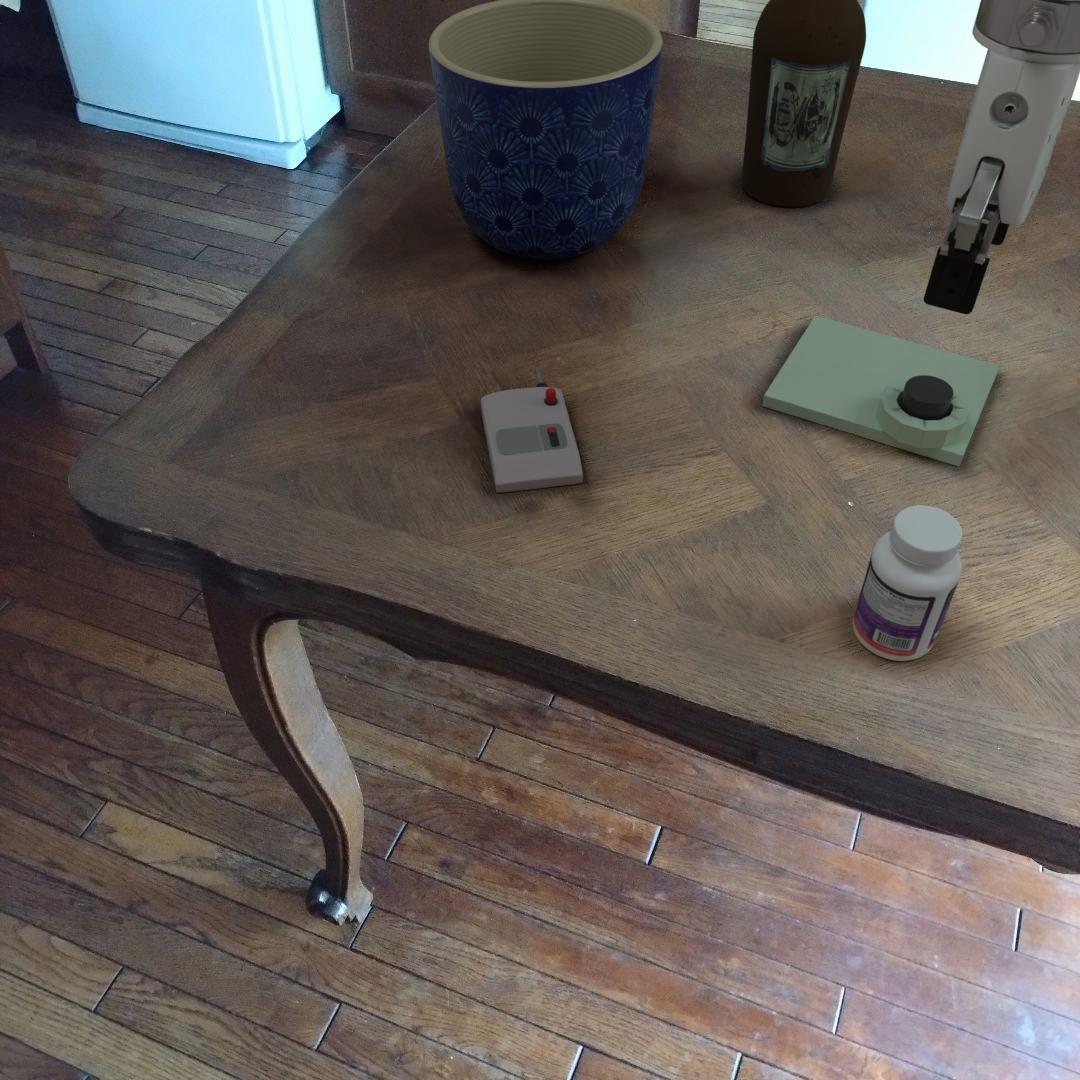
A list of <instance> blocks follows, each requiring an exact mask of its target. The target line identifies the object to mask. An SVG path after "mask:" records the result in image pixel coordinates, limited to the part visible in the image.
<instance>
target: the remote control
mask: <svg viewBox="0 0 1080 1080" xmlns="http://www.w3.org/2000/svg"><path fill="white" fill-rule="evenodd" d="M534 371H535V379H536V382H537V383H536V385H535V386H533V387H521V388H513V386H510V387H509V388H508V389H506V390H501V387H500V384H499V383H496V384H495V388H496V391H494V392H490V393H488V394H484V396H482V397H481V399H480V412H481V419H482V423H483V429H484V434H485V439H486V445H487V450H488V455H489V461H490V466H491V471H492V475H493V476H492V477H493V482H494V487H495V492H496V493H509V492H519V491H527V490H528V491H529V490H536V489H545V488H553V487H562V486H570V485H578V484H582V483H583V482H584V473H583V472H584V471H583V466H582V461H581V456H580V451H579V448H578V445H577V441H576V438H575V433H574V430H573V425H572V422H571V420H570V416H569V412H568V409H567V405H566V401H565V398H564V395H563V392H562V391H563V390H561V389H559V388H557V387H551V386H548V384H546V383H545V382H544V380H543V376H542V374H541V372H540V369H539V366H537V365H536V366H535V367H534ZM556 504H558V503H556ZM539 506H540V505H539ZM522 508H523V507H522Z"/></svg>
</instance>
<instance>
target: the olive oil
mask: <svg viewBox="0 0 1080 1080" xmlns="http://www.w3.org/2000/svg"><path fill="white" fill-rule="evenodd" d="M862 8H863V7H862V6H861V4H860V3H859V0H768V2H767V3H766V4H765V6H764V7H763V9H762V11H761V13H760V15H759V17H758V20H757V22H756V25H755V29H754V32H753V38H752V50H751V64H750V65H751V66H750V76H749V77H750V78H749V93H748V104H747V116H746V129H745V139H744V140H745V141H744V148H743V149H744V150H743V157H742V159H743V160H742V169H741V179H740V183H741V187H742V190H743V191H744V192H745V194H746V195H748V196H749V197H750V198H751V199H754V200H756V201H758V202H759V203H763V204H766V205H770V206H773V207H781V208H802V207H808V206H811V205H815V204H817V203H820V202H821V201H823V200H824V199H825V198H826V197H828V195H829V193H830V192H831V188H832V185H833V180H834V174H835V172H836V167H837V166H836V165H837V162H838V159H839V158H838V157H839V153H840V148H841V145H842V140H843V135H844V131H845V127H846V125H847V119H848V116H849V111H850V109H851V103H852V99H853V96H854V93H855V88H856V84H857V80H858V77H859V73H860V69H861V66H862V65H861V64H862V60H863V57H864V53H865V49H866V44H867V24H866V17H865V13H864V11H863V9H862Z"/></svg>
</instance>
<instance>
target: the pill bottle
mask: <svg viewBox="0 0 1080 1080" xmlns="http://www.w3.org/2000/svg"><path fill="white" fill-rule="evenodd" d="M962 539H963V529H962V526H961V524H960V522H959V520H957V519H956V518H955V517H954V516H953V515H952V514H950V513H949V512H947V511H945V510H943V509H941V508H939V507H935V506H931V505H924V504H921V505H920V504H919V505H917V504H916V505H912V506H911V505H910V506H908V507H905V508H903V509H901V510H900V511H898V513H897V514H896V515H895V517H894V519H893V522H892V525H891V528H890V531H887V532H886V533H884V534H883V535H881V536H880V537H879V538H878V539H877V541H876V542H875V544H874V546H873V548H872V551H871V554H870V558H869V561H868V564H867V568H866V572H865V576H864V579H863V583H862V586H861V589H860V593H859V596H858V600H857V602H856V604H855V605H856V606H855V609H854V612H853V617H852V628H853V632H854V634H855V636H856V638H857V640H858V641H859V642H860V644H861V645H863V647H864V648H865V649H866V650H868V651H869V652H871V653H873V654H874V655H876V656H878V657H880V658H883V659H887V660H891V661H896V662H897V661H898V662H904V661H912V660H916V659H919V658H921V657H923V656H925V655H927V653H928V652H929V651H930V650H931V649H932V648H933V647H934V645H935V642H936V641H937V638H938V636H939V633H940V631H941V628H942V626H943V624H944V620H945V617H946V615H947V612H948V610H949V608H950V605H951V602H952V600H953V597H954V596H955V592H956V589H957V587H958V585H959V582H960V580H961V577H962V572H963V561H962V557H961V555H960V553H959V548H960V545H961V542H962Z"/></svg>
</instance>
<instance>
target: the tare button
mask: <svg viewBox="0 0 1080 1080" xmlns="http://www.w3.org/2000/svg"><path fill="white" fill-rule="evenodd" d="M953 394H954V393H953V389H952V387H951V386H950V385H949V384H948V383H947V382H946V381H944V380H942V379H940V378H937V377H934V376H928V375H920V376H915V377H912V378H910V379H909V380H908V381H907V382H906V384H905V387H904V391H903V394H902V398H901V401H900V406H901V409H902V410H903V411H904V412H905V413H907V414H908V415H909V416H911V417H915V418H918V419H922V420H925V421H928V420H940V419H942V418H944V417H945V416H946V415H947V413H948V410H949V407H950V404H951V401H952V398H953Z"/></svg>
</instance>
